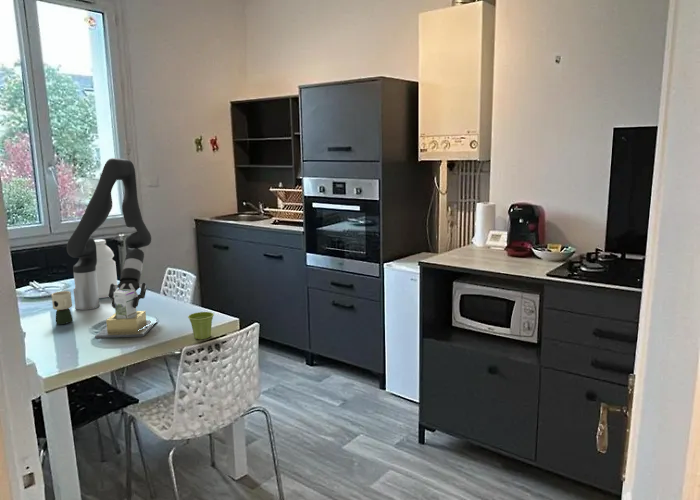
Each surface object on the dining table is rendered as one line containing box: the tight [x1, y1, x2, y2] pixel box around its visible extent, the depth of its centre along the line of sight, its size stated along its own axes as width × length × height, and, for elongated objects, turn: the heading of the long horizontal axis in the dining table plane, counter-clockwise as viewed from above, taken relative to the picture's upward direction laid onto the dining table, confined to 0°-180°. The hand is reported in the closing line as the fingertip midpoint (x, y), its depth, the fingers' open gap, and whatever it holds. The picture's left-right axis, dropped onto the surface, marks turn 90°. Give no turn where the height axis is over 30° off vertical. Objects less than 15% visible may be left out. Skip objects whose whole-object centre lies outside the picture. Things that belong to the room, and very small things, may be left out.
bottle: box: [94, 238, 119, 299], centre depth 268 cm, size 14×14×28 cm
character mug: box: [51, 290, 74, 325], centre depth 223 cm, size 11×7×13 cm, turn 44°
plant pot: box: [187, 311, 215, 340], centre depth 203 cm, size 9×9×9 cm
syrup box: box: [114, 289, 137, 319], centre depth 213 cm, size 6×6×14 cm
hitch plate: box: [95, 310, 158, 339], centre depth 213 cm, size 18×18×6 cm
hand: (124, 307), depth 211 cm, fingers closed on syrup box, 7 cm apart
